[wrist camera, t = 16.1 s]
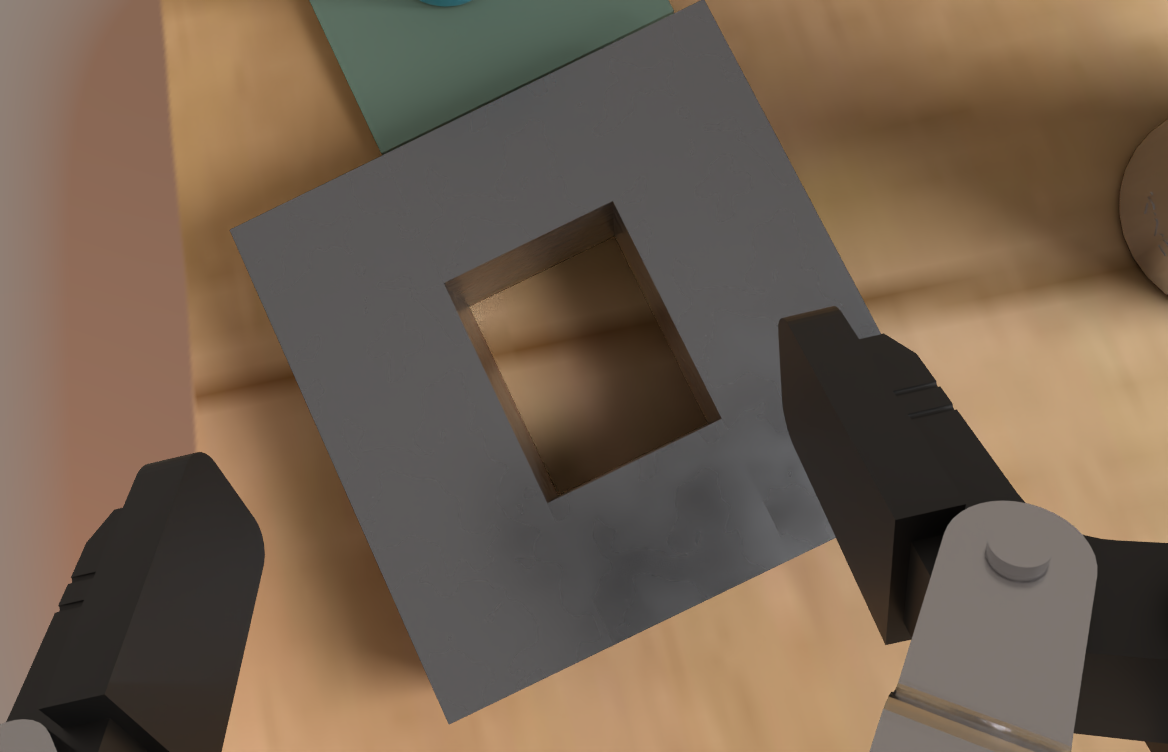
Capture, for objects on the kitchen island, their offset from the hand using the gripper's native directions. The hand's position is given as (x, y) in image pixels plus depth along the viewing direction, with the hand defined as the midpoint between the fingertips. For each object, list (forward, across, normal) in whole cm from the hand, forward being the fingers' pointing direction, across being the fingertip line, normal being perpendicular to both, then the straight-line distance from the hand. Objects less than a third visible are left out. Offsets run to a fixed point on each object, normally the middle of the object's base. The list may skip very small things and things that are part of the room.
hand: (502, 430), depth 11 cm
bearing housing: (+19, -1, +14) cm, 24 cm away
